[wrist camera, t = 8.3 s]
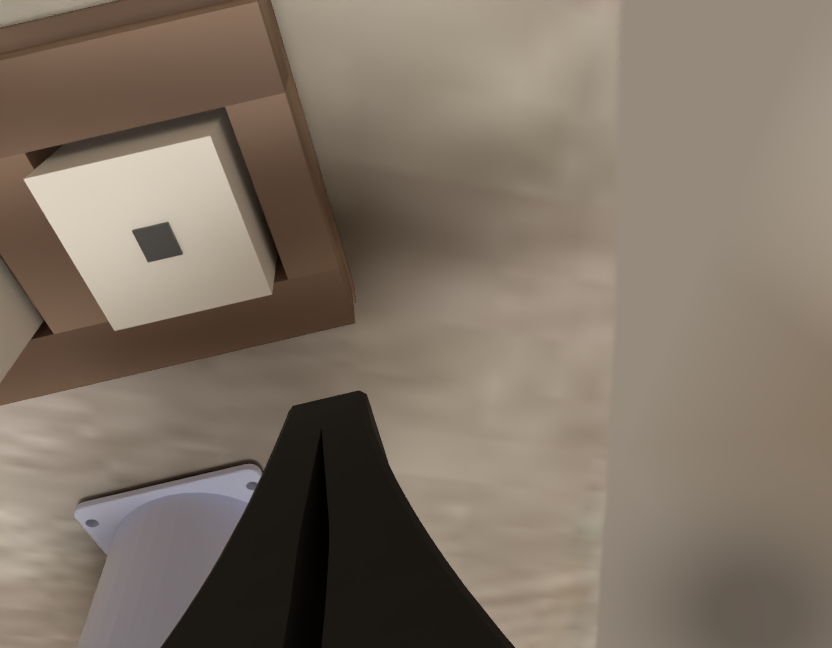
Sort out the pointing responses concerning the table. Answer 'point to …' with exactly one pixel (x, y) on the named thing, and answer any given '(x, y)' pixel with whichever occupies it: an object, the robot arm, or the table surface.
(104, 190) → the key one
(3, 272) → the key two
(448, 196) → the table surface
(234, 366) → the table surface
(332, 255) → the brown wooden tray
